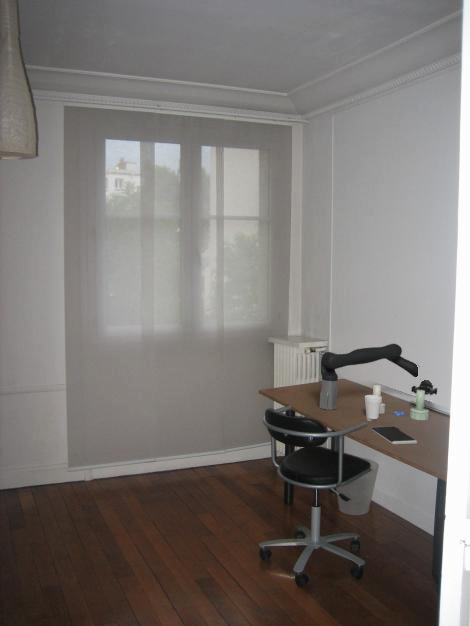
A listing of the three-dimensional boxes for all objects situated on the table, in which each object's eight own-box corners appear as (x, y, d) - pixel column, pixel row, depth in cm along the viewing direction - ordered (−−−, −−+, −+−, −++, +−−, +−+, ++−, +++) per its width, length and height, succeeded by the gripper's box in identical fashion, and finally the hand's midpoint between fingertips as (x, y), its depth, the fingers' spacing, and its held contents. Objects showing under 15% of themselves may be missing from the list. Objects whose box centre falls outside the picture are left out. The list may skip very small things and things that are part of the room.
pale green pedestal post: (420, 423, 357) (422, 393, 355) (406, 419, 365) (407, 389, 363) (432, 421, 363) (433, 391, 361) (417, 416, 371) (419, 387, 369)
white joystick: (376, 417, 368) (378, 387, 366) (363, 413, 376) (364, 384, 374) (388, 414, 374) (389, 385, 372) (374, 410, 382) (376, 382, 380)
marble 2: (398, 418, 366) (398, 413, 366) (394, 417, 369) (394, 412, 368) (402, 417, 368) (402, 412, 368) (397, 416, 370) (398, 411, 370)
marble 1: (396, 417, 370) (396, 411, 369) (392, 415, 372) (392, 410, 372) (399, 416, 372) (400, 411, 371) (395, 415, 374) (395, 409, 374)
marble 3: (402, 417, 368) (402, 412, 368) (398, 416, 371) (398, 411, 370) (405, 417, 370) (406, 411, 370) (401, 415, 373) (401, 410, 372)
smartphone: (393, 429, 348) (393, 425, 348) (417, 444, 322) (417, 440, 322) (370, 429, 345) (370, 426, 345) (392, 445, 319) (393, 441, 319)
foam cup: (368, 416, 369) (370, 394, 368) (383, 419, 363) (384, 396, 362) (360, 419, 362) (361, 396, 360) (375, 423, 356) (377, 399, 354)
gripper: (414, 379, 389) (410, 384, 374) (439, 382, 383) (436, 387, 368) (413, 391, 390) (409, 397, 375) (438, 394, 384) (435, 400, 369)
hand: (423, 392), depth 372 cm, fingers open, 8 cm apart
